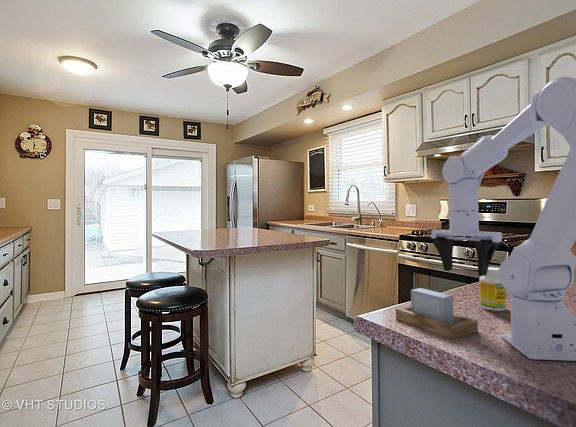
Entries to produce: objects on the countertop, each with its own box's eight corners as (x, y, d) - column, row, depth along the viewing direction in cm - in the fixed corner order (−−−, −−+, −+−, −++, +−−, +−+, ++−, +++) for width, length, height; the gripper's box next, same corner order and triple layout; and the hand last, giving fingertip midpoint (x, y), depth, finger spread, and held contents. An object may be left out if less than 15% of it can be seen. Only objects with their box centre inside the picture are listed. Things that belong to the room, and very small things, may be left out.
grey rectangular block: (411, 317, 72) (410, 289, 72) (421, 314, 73) (420, 287, 73) (443, 328, 65) (443, 297, 65) (453, 325, 66) (453, 295, 66)
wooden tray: (477, 331, 64) (477, 320, 64) (453, 339, 61) (453, 327, 61) (418, 312, 77) (418, 303, 77) (396, 318, 73) (395, 308, 73)
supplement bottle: (486, 303, 83) (485, 265, 83) (510, 308, 78) (509, 268, 78) (475, 307, 80) (474, 268, 80) (499, 312, 75) (498, 271, 75)
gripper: (508, 210, 69) (509, 275, 69) (442, 211, 81) (443, 266, 81) (492, 211, 65) (493, 279, 65) (425, 212, 77) (426, 269, 77)
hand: (464, 272), depth 73 cm, fingers open, 7 cm apart
